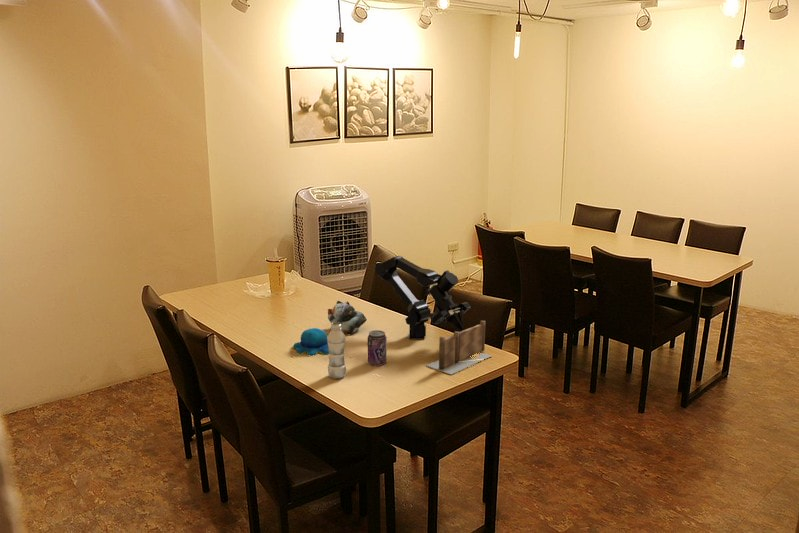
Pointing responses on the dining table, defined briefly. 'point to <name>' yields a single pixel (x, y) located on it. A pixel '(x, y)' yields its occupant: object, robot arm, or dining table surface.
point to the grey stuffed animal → (346, 317)
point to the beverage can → (377, 347)
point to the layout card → (459, 364)
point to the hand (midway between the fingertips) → (463, 330)
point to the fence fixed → (448, 350)
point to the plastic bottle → (336, 351)
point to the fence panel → (471, 341)
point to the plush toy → (312, 342)
